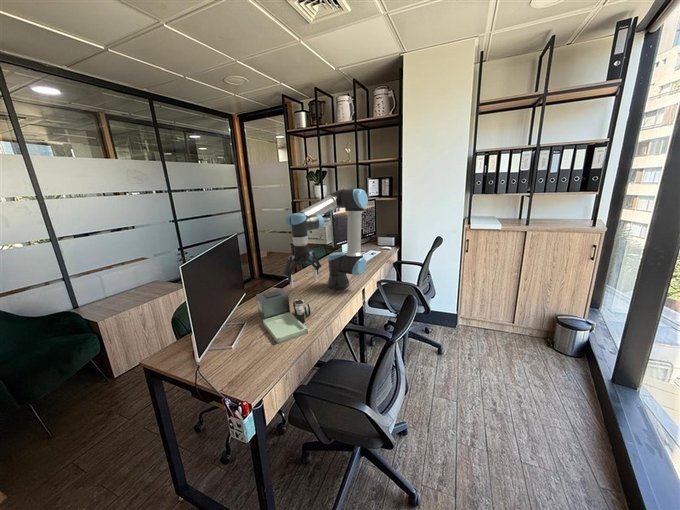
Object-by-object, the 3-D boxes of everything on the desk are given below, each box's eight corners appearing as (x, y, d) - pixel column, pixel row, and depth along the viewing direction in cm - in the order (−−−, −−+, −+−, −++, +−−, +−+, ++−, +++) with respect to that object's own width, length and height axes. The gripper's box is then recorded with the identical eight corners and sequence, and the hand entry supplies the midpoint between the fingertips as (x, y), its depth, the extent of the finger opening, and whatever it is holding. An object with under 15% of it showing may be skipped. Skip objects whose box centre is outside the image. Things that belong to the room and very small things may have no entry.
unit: (284, 307, 162) (282, 287, 159) (292, 314, 152) (290, 293, 149) (258, 314, 154) (255, 293, 151) (264, 323, 144) (261, 301, 141)
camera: (314, 322, 142) (312, 304, 140) (297, 326, 140) (295, 307, 137) (308, 309, 157) (306, 293, 154) (292, 312, 154) (291, 296, 152)
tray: (290, 316, 150) (289, 311, 150) (307, 333, 132) (307, 328, 132) (263, 324, 143) (262, 320, 142) (277, 343, 125) (277, 339, 124)
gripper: (319, 239, 148) (321, 276, 154) (274, 247, 136) (278, 287, 141) (326, 241, 142) (328, 280, 148) (279, 249, 130) (284, 291, 135)
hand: (304, 284), depth 144 cm, fingers open, 13 cm apart
